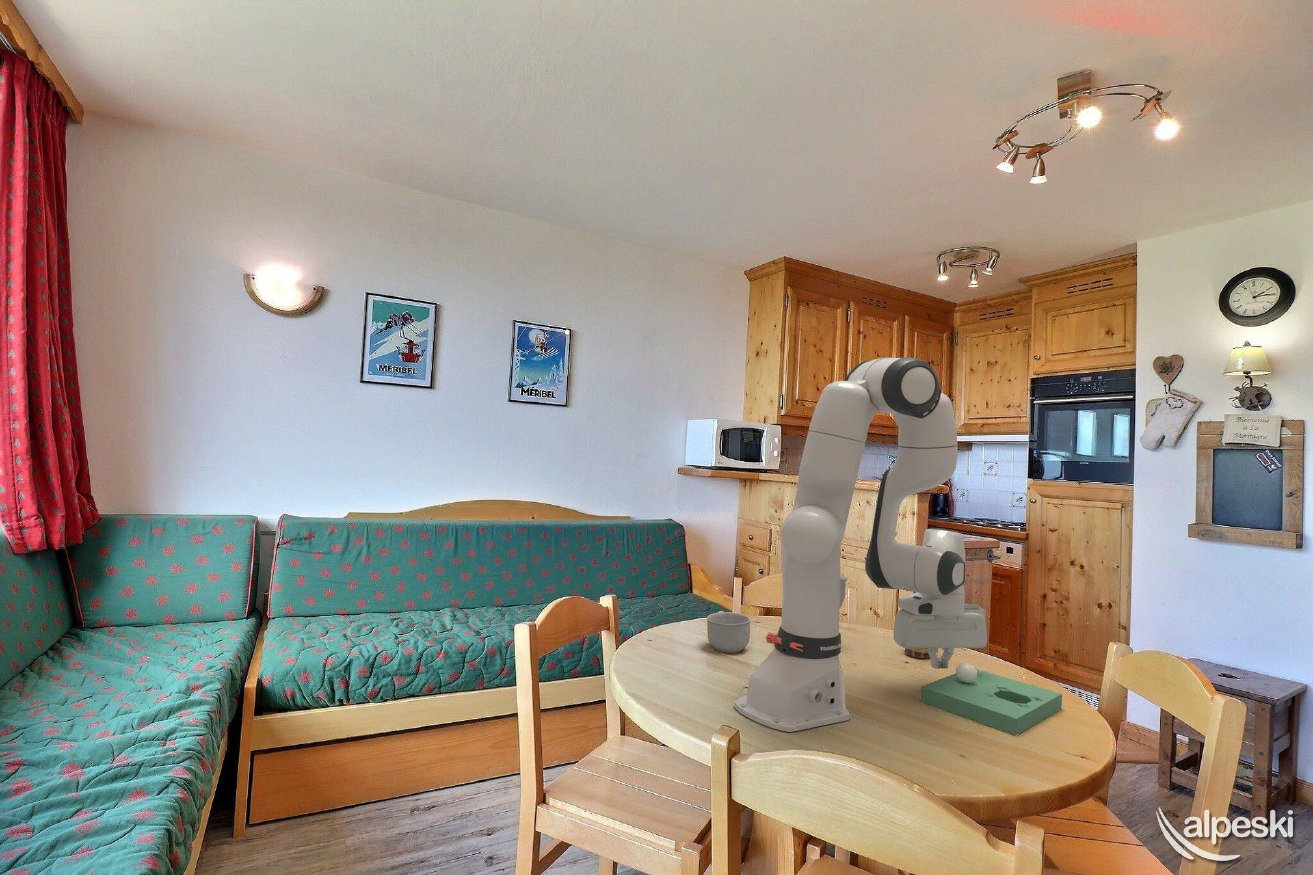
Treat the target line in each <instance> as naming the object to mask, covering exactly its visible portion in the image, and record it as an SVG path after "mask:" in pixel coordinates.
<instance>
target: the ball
mask: <svg viewBox="0 0 1313 875" xmlns="http://www.w3.org/2000/svg"><path fill="white" fill-rule="evenodd" d="M976 669H977V668H976V667H975V666H974V665H973V664H971V663H969V662H961V663H959V664H958V665H957V666H956V668H955V673H956V675H957V677H958V678H959V679H960V680H961V681H962V682H965V683H972V682H974V681H975V680H976V678H977V671H976Z"/></svg>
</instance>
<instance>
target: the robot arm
mask: <svg viewBox="0 0 1313 875" xmlns="http://www.w3.org/2000/svg"><path fill="white" fill-rule="evenodd" d="M845 376H846V377H845V378H844V379H843V380H839V381H838V380H837V381H834V382H831V383H829V384H828V385H826V386H825V387H824V389H823V390H822V392H821V394H820V396H819V399H818V401H817V403H816V406H815V407H814V408H815V409H814V411H813V414H812V417H811V420H810V424H809V427H808V432H807V436H806V440H805V443H804V447H803V453H802V457H801V460H800V464H799V465H800V466H799V469H798V478H797V484H796V491H795V497H794V503H793V505H792V510H791V512H790V513H789V514H788V515H787V516H786V517H785V519H784V521H783V523H782V526H781V533H780V537H781V538H780V540H781V541H780V545H781V546H780V547H781V548H780V549H781V551H780V554H781V558H780V559H781V562H780V563H781V577H782V579H781V580H782V600H781V624H780V626H779V628H778V631H777V634H775V633H773V632H771V631H769V632H767V634H766V635H765V641H766V643H768V644H772V645H773V646H774V648H773V650H772V651H771V652H770V653H769V654H768V655H767V657H766V658H765V659H764V660H763V661H762V662H761V664H759V666H758V667H757V668H756V669H755V670H754V671H753V672H752V673H751V674H750V676H749V680H748V686H747V694H745V695H743V696H741V697H739V698H737V699H736V700H734V702H733V707H734V708H735V710H736V711H738V712H739V713H740V714H742V716H745V717H747V718H748V719H750V720H752V721H754V722H756V723H758V724H761V725H763V726H765V727H768V728H771V729H775V730H778V731H783V732H789V733H790V732H791V733H792V732H797V731H798V732H799V731H802V730H807V729H812V728H816V727H822V726H826V725H831V724H837V723H840V722H845V721H849V720H851V714H850V711H849V709H847V708H846V691H845V689H846V688H845V675H844V674H845V672H844V670H843V668H842V664H841V661H840V656H839V655H840V654H841V652H842V651H841V650H842V635H841V633H840V614H841V613H840V612H841V608H840V576H841V548H842V546H841V545H842V541H843V539H844V537H845V536H844V535H845V532H846V527H847V523H848V518H849V514H850V510H851V506H852V505H851V504H852V501H853V495H854V492H855V488H856V483H857V478H858V476H859V470H860V467H861V462H862V458H863V454H864V449H865V446H866V442H867V437H868V433H869V432H868V431H869V427H870V424H871V422H872V421H873V419H874V418H875V416H876V415H877V414H878V413H881V414H886V415H892V416H893V417H894V420H895V421H896V424H897V425H896V426H897V428H898V434H897V435H898V436H897V455H896V458H895V461H894V463H893V465H892V467H890V468H887V469H886V470H885V471H884V473H883V474H882V478H881V480H880V484H879V488H878V492H877V498H876V505H875V510H874V511H875V512H874V518H873V524H872V530H871V537H870V542H869V546H868V549H867V552H866V558H865V562H864V563H865V564H864V568H865V569H864V571H865V573H866V575H867V577H868V578H869V579H870V581H871V582H872V583H873V585H875V586H876V587H877V588H879V589H887V590H900V591H901V590H902V591H909V592H912V593H910V594H909V595H908V594H907V595H905V596H903V597H902V596H901V597H900V598H898V600H897V607H898V608H899V610H898V611H897V612H896V615H895V617H894V624H893V640H894V642H895V643H896V644H897V645H898V646H899V647H902V648H903V649H905V648H927V652H928V654H929V656H930V657H929V658H930V660H931V661H930V662H931V663H930V664H931V665H930V666H931V667H932V668H933V669H937V670H938V669H942V670H943V669H949V661H950V660H951V659H952V657H953V655H954V654H955V649H983V648H985V647H986V645H987V644H988V632H987V623H986V610H985V608H983V607H982V605H980V604H978V603H965V595H966V592H965V591H966V590H965V586H964V584H965V578H966V549H965V541H964V536H963V534H962V533H960V532H959V531H957V530H953V529H948V528H939V527H930V528H927V529H925V531H924V534H923V535H924V536H923V540H922V545H914V544H907V543H900V542H899V541H897V539H896V530H897V525H898V518H899V513H900V507H901V504H902V502H903V501H904V500H905V499H906V498H907V497H909V496H911V495H915V494H918V493H922V492H924V491H928V490H932V489H934V488H936V487H939V486H941V485H943V484H945V483H946V482H947V481H948V480H949V479H951V478H952V476H953V475H954V473H955V472H956V468H957V463H958V432H957V422H956V416H955V412H954V407H953V404H952V401H951V399H950V398H949V396H947V395H946V394H945V393H942V391H941V387H940V382H939V379H938V376H937V373H936V371H935V370H934V368H933V367H932V366H931V365H930V364H929V363H928V362H926V361H924V360H923V359H919V358H915V357H909V356H908V357H906V356H905V357H892V356H890V357H888V356H887V357H879V358H875V359H868V360H864V361H861V362H860V363H858V364H856V365H855V366H854V367H853V368H852V369H850V371H849V372H848V374H847V375H845ZM914 592H916V593H914ZM939 649H941V650H942V651H943V652H942V654H941V656H940V657H938V656H937V654H938V653H939Z"/></svg>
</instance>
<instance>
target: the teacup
mask: <svg viewBox="0 0 1313 875" xmlns="http://www.w3.org/2000/svg"><path fill="white" fill-rule="evenodd" d="M706 620H707V623H706V624H707V626H706V628H707V630H706V631H707V639H708V642H709V644H710V645H711V646H712V647H714V648H713V649H715V650H716V651H718V652H722V653H738V652H741V651H742V650H744V648H746V647H747V646H748V644H749V643H750V636H751V617H750V616H749V615H746V614H745V613H744V614H743V613H739V612H732V611H731V612H730V611H728V612H727V611H726V612H725V611H723V610H720V611H717V612H714V613H711V614H709V615H707V616H706Z"/></svg>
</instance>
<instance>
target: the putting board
mask: <svg viewBox="0 0 1313 875" xmlns="http://www.w3.org/2000/svg"><path fill="white" fill-rule="evenodd" d="M975 669H976V671H977V678H976V680H975V681H974V682H972V683H965V682H962V681H961V680H960V679H959V678H958V677H957V675H956V672H955V673H953V674H951V675H947V676H945V677H943V678H940V679H937V680H935V681H932V682H929V683H927V684H923V685H921V686H920V696H919V697H920V699H919V700H920V701H919V702H920V703H923V704H926V705H929V706H932V707H934V708H938V709H940V710H942V711H945V712H949V713H952V714H954V715H957V716H960V717H962V716H963V718H966V719H968V720H971V721H973V722H977V723H980V724H982V725H985V726H988V727H990V728H993V727H994V729H996V728H997V730H999V729H1000V731H1002V732H1005V733H1007V732H1009V733H1008V734H1010V733H1011V735H1013V734H1015V735H1014V736H1016V735H1017V734H1018V735H1020V734H1022V733H1023V732H1025V731H1026V729H1027V730H1028V728H1029V727H1030V728H1032V727H1034V726H1036V725H1037V724H1039V723H1041V722H1043V720H1045V719H1047V718H1048V716H1049V717H1051V716H1052V715H1054V714H1055V712H1056V713H1057V712H1059V711H1061V710H1062V708H1063V705H1062V704H1063V694H1062V693H1060V692H1057V691H1053V690H1049V689H1045V688H1044V687H1043V688H1042V687H1039V686H1035V685H1032V684H1028V683H1025V682H1023V681H1020V680H1015V679H1011V678H1008V677H1004V676H1000V675H998V674H995V673H990V672H988V671H984V670H982V669H981V670H980V669H977V668H975ZM1033 725H1034V726H1033ZM1030 728H1029V729H1030ZM1021 732H1022V733H1021ZM1018 735H1017V736H1018Z"/></svg>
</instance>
